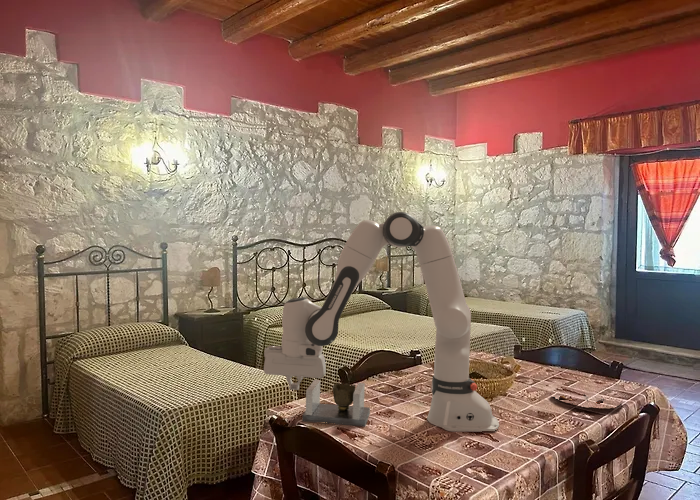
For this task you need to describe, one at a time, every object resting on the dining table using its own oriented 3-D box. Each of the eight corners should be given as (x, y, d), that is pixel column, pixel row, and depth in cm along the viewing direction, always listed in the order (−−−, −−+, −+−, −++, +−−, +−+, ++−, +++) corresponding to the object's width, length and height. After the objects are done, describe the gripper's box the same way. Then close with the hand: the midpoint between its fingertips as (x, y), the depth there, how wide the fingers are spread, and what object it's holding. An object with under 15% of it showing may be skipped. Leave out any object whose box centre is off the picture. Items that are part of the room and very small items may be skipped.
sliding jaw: (319, 403, 184) (320, 380, 184) (311, 415, 172) (312, 390, 172) (313, 402, 184) (314, 379, 184) (305, 414, 172) (306, 390, 172)
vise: (369, 413, 181) (370, 383, 181) (365, 426, 170) (366, 394, 169) (310, 408, 184) (311, 379, 184) (302, 421, 173) (303, 389, 172)
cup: (351, 415, 174) (352, 390, 173) (329, 412, 175) (330, 387, 175) (357, 407, 181) (357, 383, 181) (335, 405, 183) (336, 381, 182)
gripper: (261, 347, 177) (260, 389, 177) (323, 351, 174) (322, 394, 174) (267, 343, 183) (266, 384, 184) (327, 347, 180) (326, 388, 180)
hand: (294, 389), depth 179 cm, fingers closed
